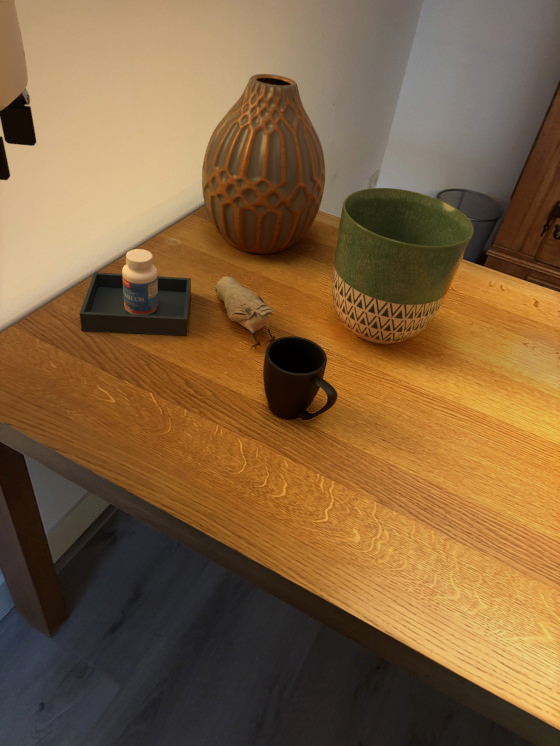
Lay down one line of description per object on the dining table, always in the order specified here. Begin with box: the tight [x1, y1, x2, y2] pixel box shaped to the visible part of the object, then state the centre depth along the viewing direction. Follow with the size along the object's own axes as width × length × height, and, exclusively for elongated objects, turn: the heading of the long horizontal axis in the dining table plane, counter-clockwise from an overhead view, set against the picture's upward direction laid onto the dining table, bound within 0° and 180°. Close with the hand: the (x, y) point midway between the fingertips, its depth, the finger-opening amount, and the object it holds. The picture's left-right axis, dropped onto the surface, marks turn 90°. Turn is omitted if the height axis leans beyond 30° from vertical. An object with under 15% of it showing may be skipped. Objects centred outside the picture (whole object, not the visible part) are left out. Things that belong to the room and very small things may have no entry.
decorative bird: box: [215, 275, 276, 350], centre depth 89 cm, size 5×16×8 cm, turn 33°
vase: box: [201, 73, 326, 255], centre depth 105 cm, size 24×24×30 cm
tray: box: [79, 271, 192, 337], centre depth 89 cm, size 16×12×3 cm
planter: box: [331, 187, 475, 345], centre depth 87 cm, size 20×20×21 cm
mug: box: [262, 335, 338, 422], centre depth 73 cm, size 8×12×10 cm
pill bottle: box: [121, 248, 159, 315], centre depth 87 cm, size 6×5×10 cm
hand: (8, 159), depth 57 cm, fingers open, 9 cm apart
